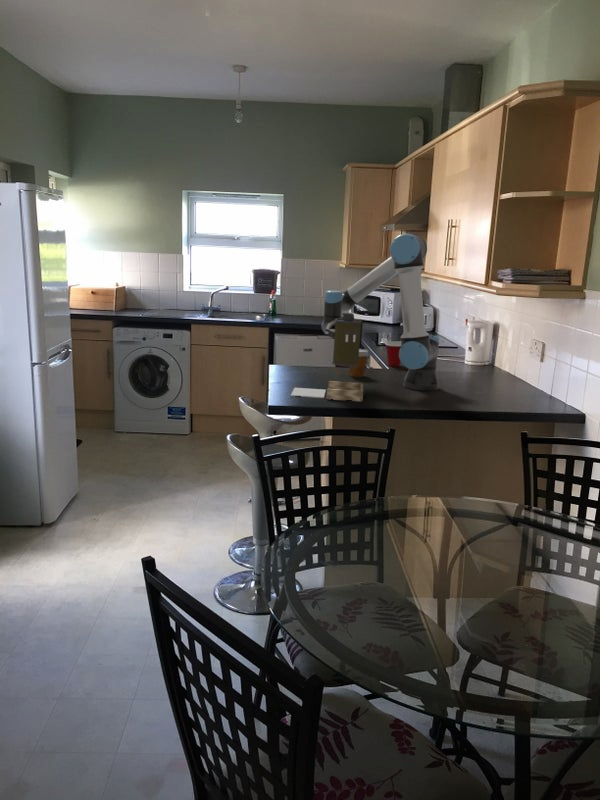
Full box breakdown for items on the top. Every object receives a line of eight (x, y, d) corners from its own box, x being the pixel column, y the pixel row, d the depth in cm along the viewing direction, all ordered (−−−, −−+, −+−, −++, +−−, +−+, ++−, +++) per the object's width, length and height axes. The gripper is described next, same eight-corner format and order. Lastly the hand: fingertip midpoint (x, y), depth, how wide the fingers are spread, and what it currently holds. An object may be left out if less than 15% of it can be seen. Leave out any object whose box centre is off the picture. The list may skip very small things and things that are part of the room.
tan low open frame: (362, 392, 268) (363, 383, 267) (362, 401, 253) (363, 391, 252) (328, 390, 269) (328, 381, 268) (326, 399, 254) (326, 389, 253)
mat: (325, 390, 268) (325, 389, 268) (323, 398, 255) (323, 397, 255) (294, 388, 269) (294, 387, 269) (290, 396, 256) (290, 394, 256)
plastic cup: (378, 365, 334) (380, 342, 331) (390, 363, 342) (392, 340, 339) (397, 368, 327) (399, 344, 324) (408, 366, 335) (410, 343, 332)
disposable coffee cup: (366, 378, 298) (368, 352, 295) (345, 376, 299) (347, 351, 296) (367, 374, 307) (369, 349, 304) (347, 373, 308) (349, 348, 306)
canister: (337, 366, 252) (340, 314, 247) (328, 361, 261) (331, 311, 256) (363, 366, 255) (367, 315, 250) (353, 361, 264) (357, 311, 260)
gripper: (354, 339, 275) (369, 348, 252) (318, 339, 272) (330, 347, 250) (355, 321, 273) (370, 329, 251) (319, 321, 270) (331, 328, 248)
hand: (350, 338), depth 250 cm, fingers closed on canister, 2 cm apart
